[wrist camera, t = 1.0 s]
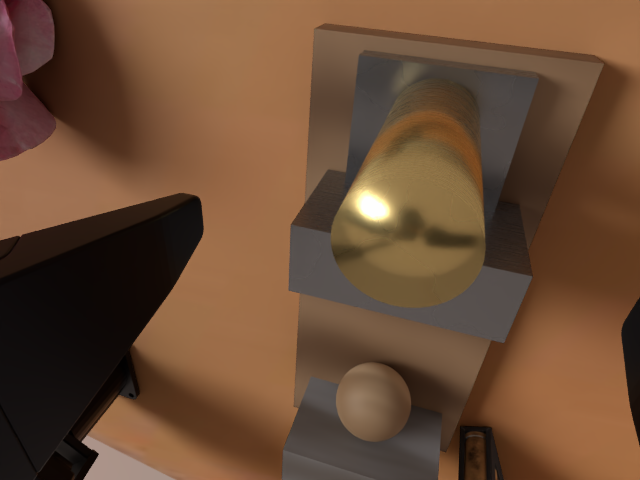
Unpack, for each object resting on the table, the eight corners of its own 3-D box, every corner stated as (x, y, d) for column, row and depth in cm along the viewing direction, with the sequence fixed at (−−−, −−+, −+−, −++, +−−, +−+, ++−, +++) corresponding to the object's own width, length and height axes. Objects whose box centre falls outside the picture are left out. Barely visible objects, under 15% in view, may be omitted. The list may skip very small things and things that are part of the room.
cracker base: (447, 431, 29) (441, 538, 23) (300, 388, 31) (265, 478, 25) (594, 55, 16) (654, 106, 10) (324, 23, 18) (262, 52, 12)
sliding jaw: (497, 263, 19) (513, 462, 12) (323, 226, 21) (238, 381, 13) (566, 76, 15) (663, 201, 7) (338, 46, 16) (224, 125, 9)
